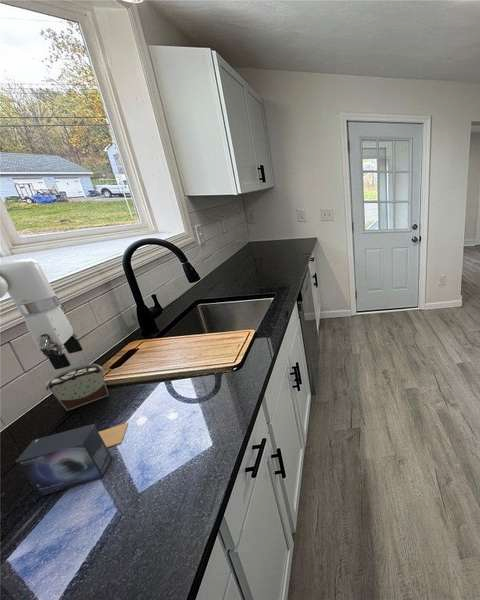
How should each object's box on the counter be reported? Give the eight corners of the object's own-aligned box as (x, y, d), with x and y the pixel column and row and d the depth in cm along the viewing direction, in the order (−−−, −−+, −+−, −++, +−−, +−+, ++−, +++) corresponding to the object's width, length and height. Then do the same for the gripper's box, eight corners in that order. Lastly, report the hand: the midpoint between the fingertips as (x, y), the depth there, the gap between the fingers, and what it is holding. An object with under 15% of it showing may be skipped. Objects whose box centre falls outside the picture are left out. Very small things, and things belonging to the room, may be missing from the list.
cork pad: (50, 467, 72) (49, 466, 72) (63, 444, 79) (63, 443, 78) (121, 443, 78) (120, 442, 78) (128, 423, 84) (127, 422, 84)
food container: (114, 384, 101) (101, 358, 98) (115, 393, 97) (101, 365, 93) (61, 403, 94) (45, 375, 90) (59, 413, 90) (42, 384, 86)
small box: (38, 499, 65) (12, 462, 61) (56, 474, 70) (32, 439, 66) (102, 479, 68) (81, 442, 64) (114, 456, 74) (95, 422, 70)
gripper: (35, 299, 90) (64, 350, 96) (2, 321, 75) (38, 379, 82) (70, 293, 93) (95, 342, 99) (44, 312, 79) (76, 369, 85)
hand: (69, 359), depth 91 cm, fingers open, 9 cm apart
